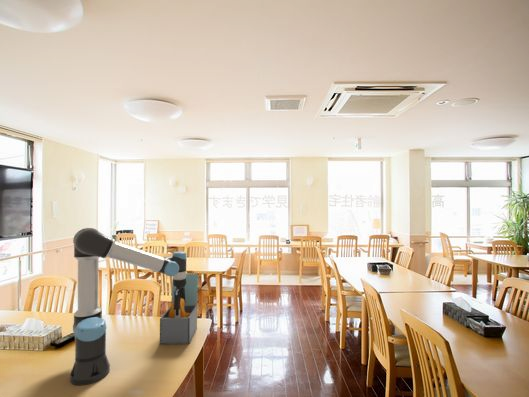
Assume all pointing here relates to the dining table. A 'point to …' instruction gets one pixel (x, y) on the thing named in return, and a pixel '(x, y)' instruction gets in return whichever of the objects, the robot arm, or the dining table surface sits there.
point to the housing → (178, 327)
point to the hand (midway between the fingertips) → (179, 317)
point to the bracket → (182, 311)
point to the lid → (189, 290)
